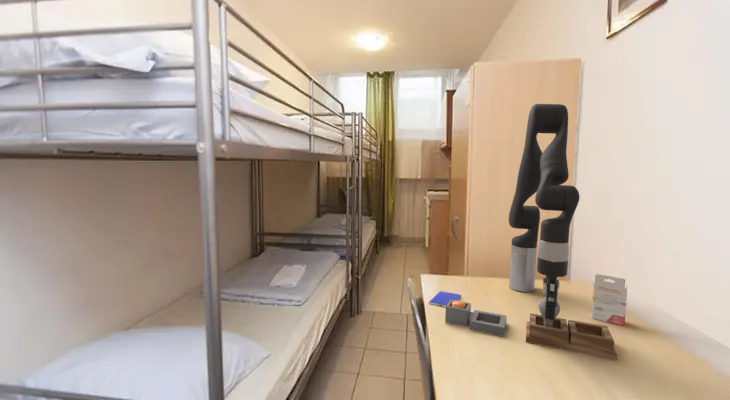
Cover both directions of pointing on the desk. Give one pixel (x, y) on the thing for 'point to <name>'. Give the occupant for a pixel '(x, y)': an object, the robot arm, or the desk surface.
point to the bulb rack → (572, 336)
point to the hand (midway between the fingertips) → (548, 313)
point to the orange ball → (458, 304)
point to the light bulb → (543, 307)
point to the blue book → (444, 298)
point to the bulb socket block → (475, 319)
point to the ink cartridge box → (609, 299)
